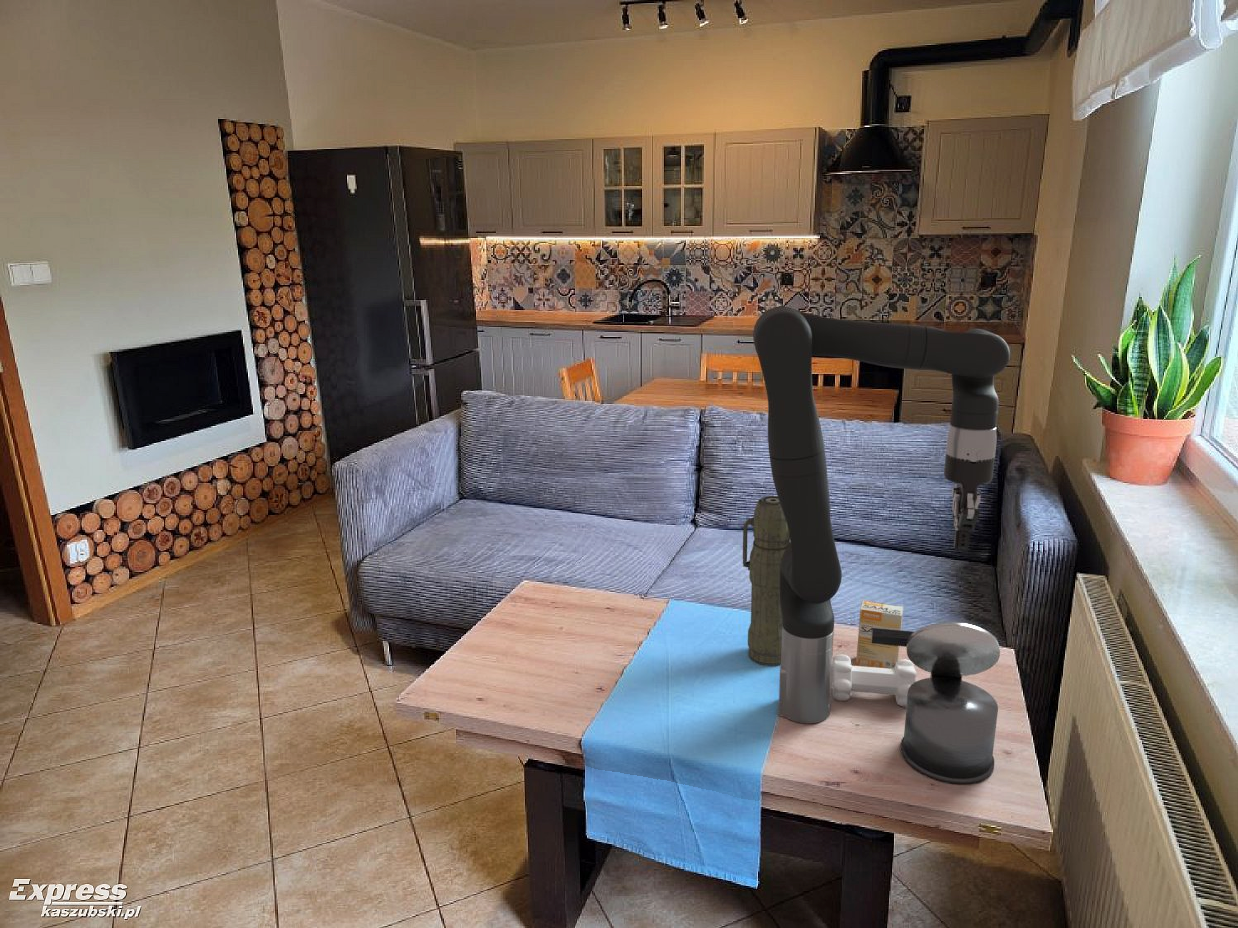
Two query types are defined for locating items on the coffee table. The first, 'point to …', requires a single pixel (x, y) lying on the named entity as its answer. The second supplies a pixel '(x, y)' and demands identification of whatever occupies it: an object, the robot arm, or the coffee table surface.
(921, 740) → the cooker pot
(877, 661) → the supplement box
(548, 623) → the coffee table surface
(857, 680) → the white bone
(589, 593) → the coffee table surface
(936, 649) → the cooker lid
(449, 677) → the coffee table surface
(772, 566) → the thermos
